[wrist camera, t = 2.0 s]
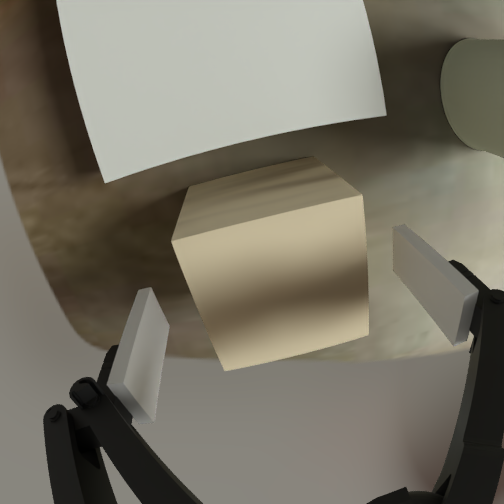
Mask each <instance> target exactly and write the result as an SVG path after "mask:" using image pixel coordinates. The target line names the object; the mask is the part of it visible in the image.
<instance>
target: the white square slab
mask: <svg viewBox="0 0 504 504" xmlns="http://www.w3.org/2000/svg"><path fill="white" fill-rule="evenodd" d="M56 1H57V7H58V13H59V19H60V24H61V29H62V34H63V39H64V44H65V48H66V53H67V57H68V62H69V66H70V70H71V74H72V78H73V82H74V86H75V90H76V93H77V97H78V101H79V104H80V108H81V111H82V115H83V118H84V121H85V125H86V128H87V131H88V134H89V138H90V141H91V144H92V147H93V150H94V153H95V156H96V159H97V162H98V165H99V168H100V171H101V174H102V176H103V179H104V182H105V183H107V182H110V181H113V180H116V179H119V178H122V177H124V176H127V175H130V174H133V173H136V172H139V171H142V170H145V169H148V168H152V167H155V166H158V165H161V164H164V163H168V162H171V161H174V160H178V159H181V158H184V157H188V156H191V155H195V154H198V153H202V152H206V151H209V150H213V149H217V148H221V147H225V146H228V145H232V144H236V143H240V142H245V141H249V140H253V139H257V138H262V137H266V136H271V135H275V134H280V133H285V132H290V131H295V130H300V129H305V128H310V127H316V126H321V125H327V124H333V123H339V122H345V121H351V120H358V119H365V118H372V117H380V116H387V114H386V107H385V101H384V94H383V88H382V83H381V77H380V72H379V67H378V61H377V57H376V52H375V47H374V43H373V38H372V34H371V30H370V26H369V22H368V18H367V14H366V10H365V7H364V3H363V0H56Z"/></svg>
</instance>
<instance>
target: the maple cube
mask: <svg viewBox="0 0 504 504" xmlns="http://www.w3.org/2000/svg"><path fill="white" fill-rule="evenodd" d="M171 243H172V245H173V248H174V251H175V253H176V256H177V258H178V261H179V264H180V266H181V269H182V271H183V274H184V276H185V279H186V282H187V284H188V287H189V289H190V292H191V294H192V296H193V299H194V301H195V304H196V306H197V309H198V311H199V313H200V316H201V318H202V321H203V323H204V325H205V328H206V330H207V332H208V335H209V337H210V339H211V342H212V344H213V346H214V348H215V351H216V353H217V355H218V357H219V360H220V362H221V364H222V366H223V368H224V370H225V371H227V370H233V369H238V368H243V367H248V366H253V365H257V364H262V363H266V362H271V361H275V360H279V359H284V358H288V357H292V356H296V355H300V354H304V353H308V352H311V351H315V350H319V349H323V348H326V347H330V346H334V345H337V344H341V343H344V342H347V341H351V340H354V339H358V338H361V337H364V336H367V335H369V298H368V265H367V246H366V231H365V218H364V206H363V195H362V194H361V193H360V192H358V191H357V190H356V189H355V188H354V187H352V186H351V185H350V184H348V183H347V182H346V181H345V180H343V179H342V178H341V177H340V176H338V175H337V174H336V173H334V172H333V171H332V170H330V169H329V168H328V167H327V166H325V165H324V164H323V163H321V162H320V161H319V160H317V159H316V158H314V157H313V156H312V157H307V158H303V159H298V160H293V161H289V162H284V163H280V164H275V165H271V166H267V167H262V168H258V169H254V170H250V171H246V172H242V173H238V174H234V175H230V176H226V177H222V178H218V179H214V180H211V181H207V182H203V183H199V184H196V185H192V186H189V188H188V191H187V194H186V197H185V200H184V203H183V206H182V209H181V212H180V215H179V218H178V221H177V224H176V227H175V230H174V233H173V236H172V240H171Z"/></svg>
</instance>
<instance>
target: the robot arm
mask: <svg viewBox="0 0 504 504" xmlns="http://www.w3.org/2000/svg"><path fill="white" fill-rule="evenodd" d="M392 228H393V271H394V272H395V273H396V274H397V276H398V277H399V278H400V279H401V280H402V282H403V283H404V284H405V285H406V286H407V288H408V289H409V290H410V291H411V292H412V294H413V295H414V296H415V297H416V299H417V300H418V301H419V302H420V303H421V305H422V306H423V307H424V308H425V310H426V311H427V312H428V314H429V315H430V316H431V317H432V319H433V320H434V321H435V322H436V324H437V325H438V326H439V328H440V329H441V330H442V332H443V333H444V334H445V336H446V337H447V338H448V340H449V341H450V342H451V344H452V345H453V346H456V345H458V344H460V343H463V342H465V341H467V338H468V335H469V331H471V333H472V334H473V335H474V338H473V342H472V345H471V348H470V351H469V353H471V356H470V362H469V368H468V374H467V379H466V384H465V390H464V394H463V399H462V403H461V408H460V411H459V415H458V419H457V423H456V427H455V431H454V434H453V438H452V441H451V444H450V448H449V451H448V454H447V457H446V460H445V463H444V466H443V469H442V471H441V474H440V476H439V478H438V480H437V482H436V484H435V486H434V488H433V491H432V492H426V491H411V492H408V491H407V488H406V487H404V488H402V489H399V490H397V491H394V492H391V493H389V494H386V495H383V496H380V497H377V498H376V499H374V500H372V501H370V502H369V503H367V504H492V503H493V500H494V496H495V493H496V489H497V486H498V482H499V478H500V474H501V469H502V465H503V461H504V449H503V448H502V446H501V445H502V439H503V433H504V291H501V290H498V289H492V290H490V289H489V288H488V287H487V286H486V285H485V284H484V283H483V282H482V281H481V280H479V279H478V278H477V277H476V276H475V275H473V273H472V272H471V271H469V270H468V269H467V268H466V267H465V266H464V265H463V264H461V263H459V262H457V261H455V260H451V261H447V260H446V259H445V258H443V257H442V256H441V255H440V254H439V253H438V252H437V251H436V250H434V249H433V248H432V247H431V246H430V245H429V244H427V243H426V242H425V241H424V240H423V239H422V238H420V237H419V236H418V235H417V234H416V233H415V232H413V231H412V230H411V229H410V228H408V227H407V226H406V225H405V224H403V225H399V226H395V227H392ZM169 327H170V326H169V324H168V322H167V320H166V318H165V316H164V314H163V311H162V309H161V307H160V305H159V303H158V301H157V299H156V296H155V294H154V292H153V290H152V288H151V287H149V288H144V289H140V290H138V292H137V295H136V298H135V301H134V303H133V306H132V309H131V312H130V314H129V317H128V320H127V323H126V326H125V329H124V332H123V335H122V338H121V341H120V344H119V345H113V346H112V347H111V348H110V349H109V351H108V352H107V353H106V356H105V359H104V363H103V365H102V368H101V369H102V370H101V371H100V374H99V377H98V380H97V383H96V381H95V380H94V379H93V378H91V377H85V378H81V379H80V380H78V381H76V382H75V383H74V384H73V386H72V387H71V389H70V392H69V394H70V398H71V399H72V400H73V401H74V403H75V404H76V405H77V406H78V407H76V408H73V409H70V410H67V409H66V408H65V407H64V406H63V405H60V404H57V405H53V406H52V407H50V408H49V409H48V410H47V411H46V413H45V415H44V419H43V422H44V423H43V424H44V436H45V446H46V455H47V463H48V470H49V476H50V483H51V488H52V494H53V499H54V504H117V501H116V499H115V496H114V493H113V490H112V487H111V484H110V481H109V478H108V474H107V471H106V468H105V465H104V461H103V458H102V454H101V452H100V447H103V449H104V450H105V452H106V453H107V455H108V456H109V458H110V460H111V461H112V462H113V464H114V466H115V467H116V469H117V470H118V471H119V473H120V474H121V476H122V477H123V479H124V480H125V481H126V483H127V484H128V486H129V487H130V488H131V490H132V491H133V492H134V494H135V495H136V496H137V498H138V499H139V500H140V502H141V503H142V504H203V503H202V502H201V501H200V500H199V499H198V498H197V497H196V496H195V495H194V494H193V493H192V492H191V491H190V490H189V489H188V488H187V487H186V486H185V485H184V484H183V483H182V482H181V481H180V480H179V479H178V478H177V477H176V476H175V475H174V474H173V473H172V471H171V470H170V469H169V468H168V467H167V466H166V465H165V464H164V463H163V461H161V459H160V458H159V457H158V456H157V455H156V453H155V452H154V451H153V450H152V449H151V448H150V446H149V445H148V444H147V443H146V442H145V440H144V439H143V438H142V437H141V436H140V434H139V433H138V432H137V431H136V429H135V428H134V427H133V426H132V425H131V423H132V417H133V418H134V419H135V420H136V421H137V422H138V424H147V423H154V422H155V415H156V407H157V400H158V393H159V386H160V380H161V374H162V367H163V361H164V355H165V350H166V344H167V338H168V332H169Z"/></svg>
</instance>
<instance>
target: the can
mask: <svg viewBox="0 0 504 504" xmlns="http://www.w3.org/2000/svg"><path fill="white" fill-rule="evenodd" d="M440 89H441V98H442V104H443V108H444V111H445V114H446V117H447V119H448V122H449V124H450V126H451V127H452V129H453V131H454V132H455V134H456V135H457V136H458V137H459V139H460V140H461V141H462V142H464V143H465V144H466V145H468V146H469V147H471V148H473V149H476V150H480V151H486V152H489V153H492V154H495V155H497V156H500V157H503V158H504V40H480V39H475V38H468V39H464V40H461V41H459V42H458V43H456V44H455V45H454V46H453V47H452V48H451V49H450V50H449V52H448V53H447V55H446V57H445V60H444V63H443V66H442V71H441V79H440Z"/></svg>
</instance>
